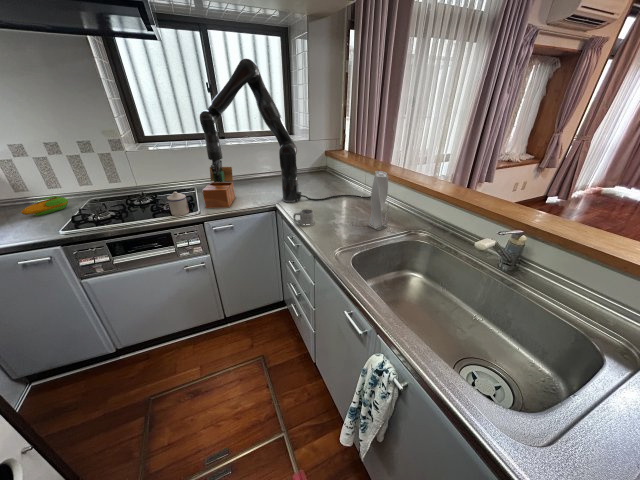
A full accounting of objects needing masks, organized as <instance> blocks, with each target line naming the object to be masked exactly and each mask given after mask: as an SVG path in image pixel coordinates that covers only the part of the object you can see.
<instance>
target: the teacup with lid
mask: <svg viewBox="0 0 640 480" xmlns="http://www.w3.org/2000/svg"><path fill="white" fill-rule="evenodd" d="M166 200H167V202H168V207H169V210H170V213H171V215H172V216H175V217H180V216H185V215H187V214H189V212H190V208H189V205H188V200H187V196H186V195H185V194H184V193H179V192H177V191H173V192H172V194H170V195H169V196H167V197H166Z"/></svg>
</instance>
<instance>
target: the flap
mask: <svg viewBox="0 0 640 480" xmlns="http://www.w3.org/2000/svg"><path fill="white" fill-rule="evenodd" d="M222 169H223V170H222V171H223V172H224V178H225V180H224V181H223V182H234V178H233V167H232V166H222ZM212 174H213V173H212V169H211V166H209V177H210V182H214V180H213V175H212Z"/></svg>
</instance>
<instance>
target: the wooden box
mask: <svg viewBox="0 0 640 480" xmlns="http://www.w3.org/2000/svg"><path fill="white" fill-rule="evenodd" d="M201 192H202V197H203V203H204V207H205V208H206V209H220V208H221V209H222V208H223V209H225V208H230V207H231V205H232V204H233V202H234V201H235V199H236V192H235V187H234V181H223V182H214V181H213V182H210V183H209V184H208V185H205V186H204V188H203V189H202V190H201Z"/></svg>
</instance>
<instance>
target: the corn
mask: <svg viewBox="0 0 640 480" xmlns="http://www.w3.org/2000/svg"><path fill="white" fill-rule="evenodd" d="M68 205H69V199H68V198H66V197H64V196H59V195H53V196H48V197H47V196H46V197H43V198H40V199H37V200H35V201H32V202H31V205H27V206H26V207H25V208H23V209H22V210H21V212H20V214H22V215H24V216H28V215H33V217H40V216H45V215H49V214H51V213H55V212H58V211H61V210H64V209H65V208H66V207H67V206H68Z"/></svg>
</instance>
